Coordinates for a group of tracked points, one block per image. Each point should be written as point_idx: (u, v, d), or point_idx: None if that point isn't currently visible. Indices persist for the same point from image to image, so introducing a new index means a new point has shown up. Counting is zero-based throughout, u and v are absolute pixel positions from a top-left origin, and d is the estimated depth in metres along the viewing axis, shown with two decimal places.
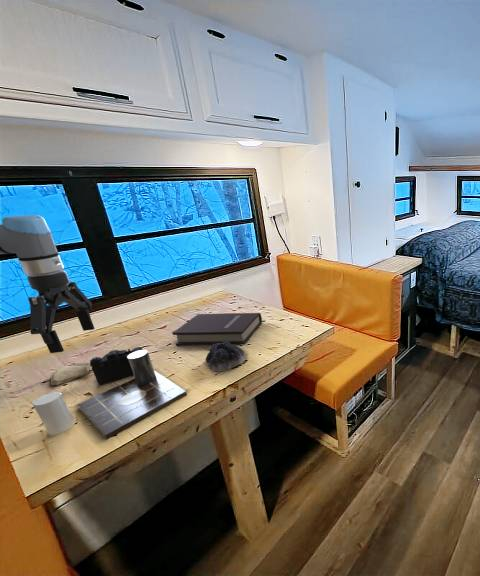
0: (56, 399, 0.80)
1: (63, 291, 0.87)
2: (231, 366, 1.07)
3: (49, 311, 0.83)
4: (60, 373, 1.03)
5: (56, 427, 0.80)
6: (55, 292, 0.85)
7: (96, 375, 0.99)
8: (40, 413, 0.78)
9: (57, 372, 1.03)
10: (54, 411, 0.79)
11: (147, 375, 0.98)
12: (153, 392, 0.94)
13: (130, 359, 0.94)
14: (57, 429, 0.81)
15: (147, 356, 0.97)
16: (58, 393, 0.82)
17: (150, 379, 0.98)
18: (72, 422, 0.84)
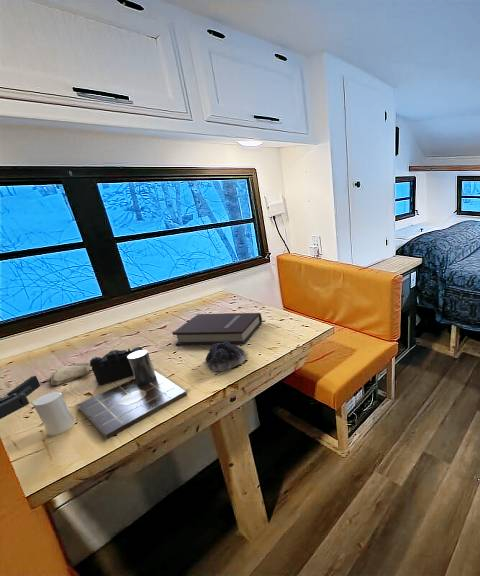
0: (56, 399, 0.80)
1: None
2: (231, 366, 1.07)
3: None
4: (60, 373, 1.03)
5: (56, 427, 0.80)
6: None
7: (96, 375, 0.99)
8: (40, 413, 0.78)
9: (57, 372, 1.03)
10: (54, 411, 0.79)
11: (147, 375, 0.98)
12: (153, 392, 0.94)
13: (130, 359, 0.94)
14: (57, 429, 0.81)
15: (147, 356, 0.97)
16: (58, 393, 0.82)
17: (150, 379, 0.98)
18: (72, 422, 0.84)
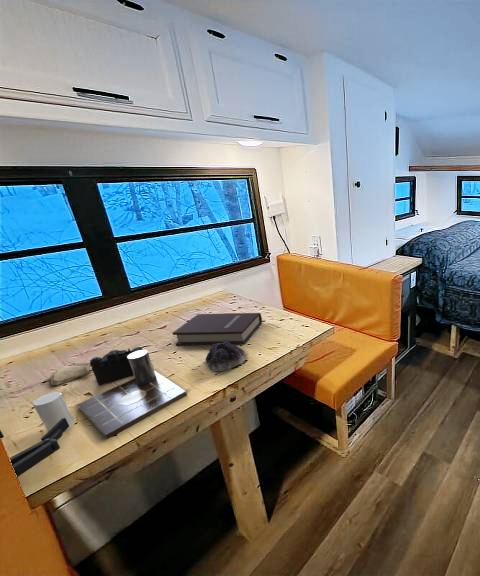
0: (56, 399, 0.80)
1: None
2: (231, 366, 1.07)
3: None
4: (60, 373, 1.03)
5: None
6: None
7: (96, 375, 0.99)
8: (40, 413, 0.78)
9: (57, 372, 1.03)
10: (54, 411, 0.79)
11: (147, 375, 0.98)
12: (153, 392, 0.94)
13: (130, 359, 0.94)
14: None
15: (147, 356, 0.97)
16: (58, 393, 0.82)
17: (150, 379, 0.98)
18: (72, 422, 0.84)
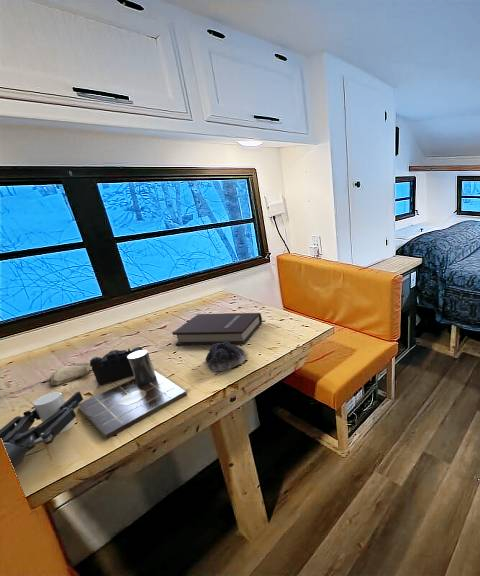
0: (56, 399, 0.80)
1: None
2: (231, 366, 1.07)
3: None
4: (60, 373, 1.03)
5: None
6: None
7: (96, 375, 0.99)
8: (40, 413, 0.78)
9: (57, 372, 1.03)
10: (54, 411, 0.79)
11: (147, 375, 0.98)
12: (153, 392, 0.94)
13: (130, 359, 0.94)
14: None
15: (147, 356, 0.97)
16: (58, 393, 0.82)
17: (150, 379, 0.98)
18: (72, 422, 0.84)
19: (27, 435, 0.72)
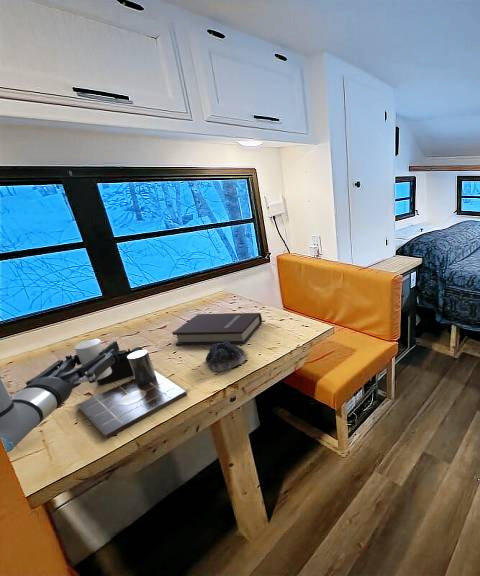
0: (96, 345, 0.82)
1: None
2: (231, 366, 1.07)
3: None
4: None
5: None
6: None
7: None
8: (81, 357, 0.80)
9: None
10: (94, 357, 0.82)
11: (147, 375, 0.98)
12: (153, 392, 0.94)
13: (130, 359, 0.94)
14: None
15: (147, 356, 0.97)
16: (97, 340, 0.84)
17: (150, 379, 0.98)
18: (110, 370, 0.86)
19: (72, 373, 0.74)
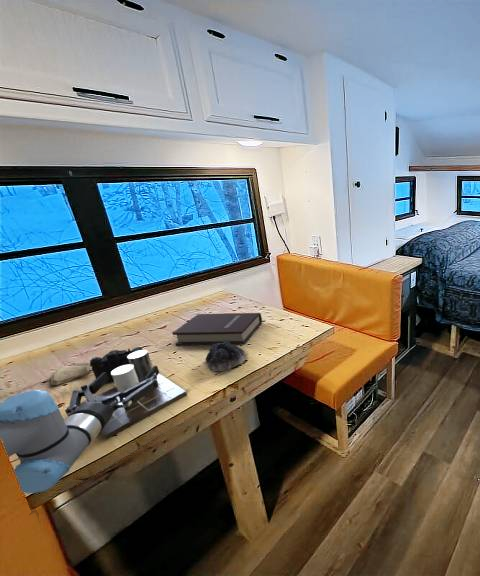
0: (131, 370, 0.89)
1: None
2: (231, 366, 1.07)
3: None
4: (60, 373, 1.03)
5: None
6: None
7: (96, 375, 0.99)
8: (117, 382, 0.87)
9: (57, 372, 1.03)
10: (128, 381, 0.88)
11: None
12: (153, 392, 0.94)
13: (130, 359, 0.94)
14: None
15: (147, 356, 0.97)
16: (131, 365, 0.90)
17: None
18: None
19: (112, 398, 0.80)
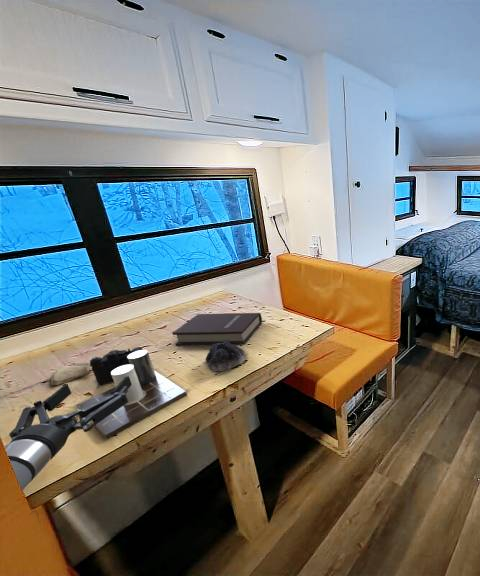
0: (131, 370, 0.89)
1: None
2: (231, 366, 1.07)
3: None
4: (60, 373, 1.03)
5: (129, 396, 0.89)
6: None
7: (96, 375, 0.99)
8: (117, 382, 0.87)
9: (57, 372, 1.03)
10: None
11: (147, 375, 0.98)
12: (153, 392, 0.94)
13: (130, 359, 0.94)
14: (130, 397, 0.89)
15: (147, 356, 0.97)
16: (131, 365, 0.90)
17: (150, 379, 0.98)
18: (142, 392, 0.92)
19: (68, 418, 0.66)
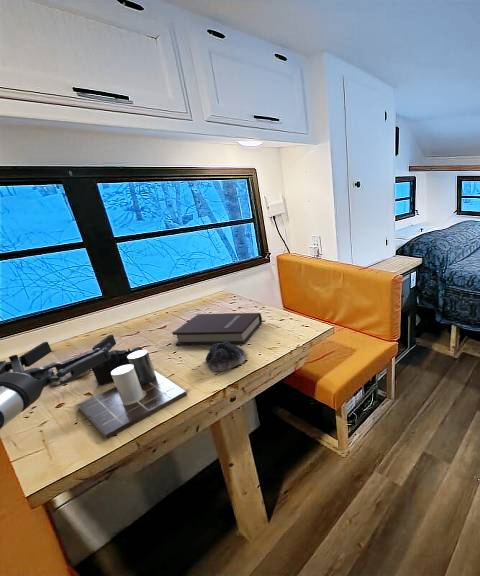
0: (131, 370, 0.89)
1: None
2: (231, 366, 1.07)
3: None
4: None
5: (129, 396, 0.89)
6: None
7: (96, 375, 0.99)
8: (117, 382, 0.87)
9: (57, 372, 1.03)
10: (128, 381, 0.88)
11: (147, 375, 0.98)
12: (153, 392, 0.94)
13: (130, 359, 0.94)
14: (130, 397, 0.89)
15: (147, 356, 0.97)
16: (131, 365, 0.90)
17: (150, 379, 0.98)
18: (142, 392, 0.92)
19: (44, 370, 0.62)
